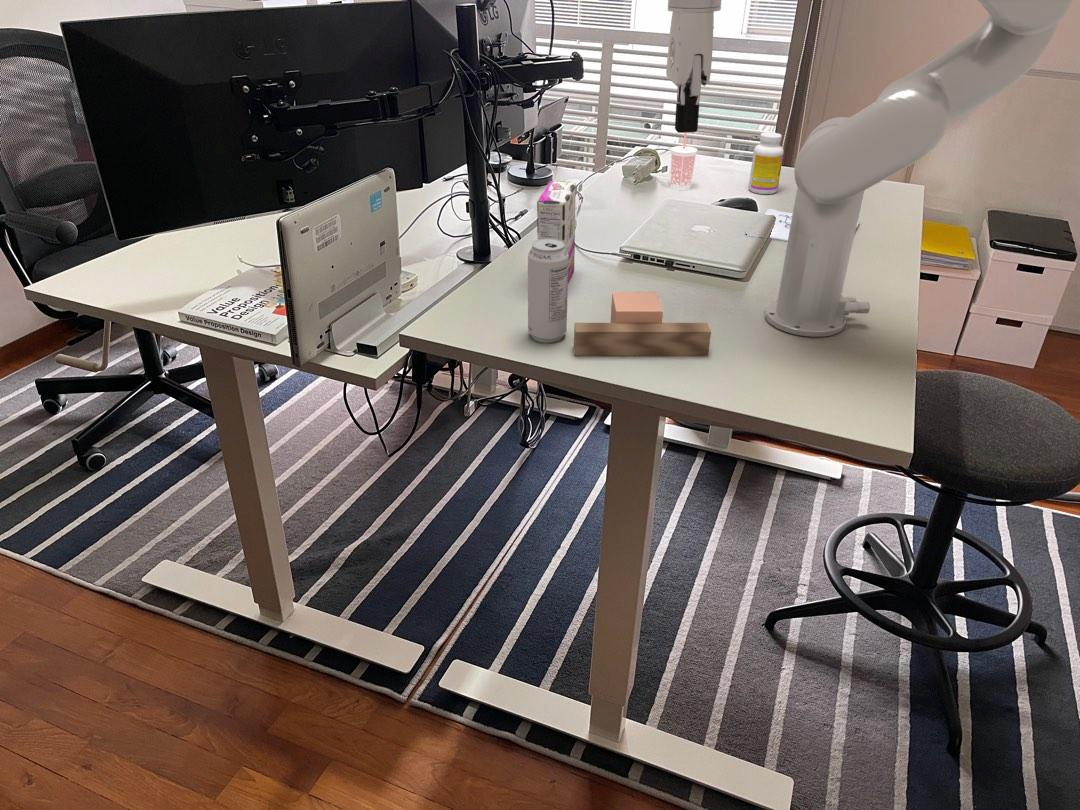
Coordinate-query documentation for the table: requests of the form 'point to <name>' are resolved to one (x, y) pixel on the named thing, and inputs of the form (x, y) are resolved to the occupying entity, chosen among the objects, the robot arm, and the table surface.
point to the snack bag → (782, 225)
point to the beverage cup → (682, 166)
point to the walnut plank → (641, 339)
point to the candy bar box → (558, 216)
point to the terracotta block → (636, 307)
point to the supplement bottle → (766, 164)
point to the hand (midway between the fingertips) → (686, 130)
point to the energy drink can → (547, 290)
